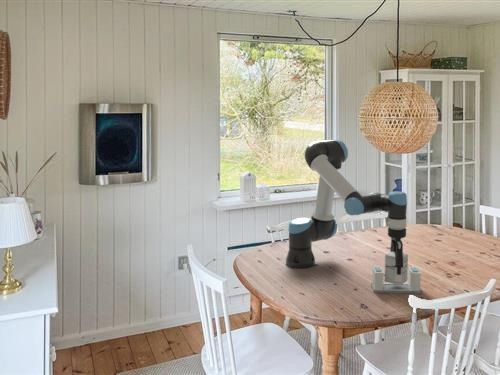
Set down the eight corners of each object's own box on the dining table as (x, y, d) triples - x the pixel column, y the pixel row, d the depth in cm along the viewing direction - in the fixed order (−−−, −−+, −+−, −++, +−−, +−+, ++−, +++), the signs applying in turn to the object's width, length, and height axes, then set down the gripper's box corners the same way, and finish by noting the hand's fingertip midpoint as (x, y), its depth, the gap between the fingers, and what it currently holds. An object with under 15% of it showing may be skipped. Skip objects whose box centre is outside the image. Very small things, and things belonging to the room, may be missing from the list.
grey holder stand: (373, 292, 204) (374, 272, 202) (371, 285, 213) (371, 265, 211) (421, 293, 201) (422, 272, 200) (416, 285, 210) (417, 265, 208)
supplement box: (384, 281, 206) (384, 254, 204) (392, 277, 211) (393, 250, 209) (399, 286, 201) (400, 257, 199) (407, 281, 206) (408, 253, 204)
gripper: (384, 221, 214) (383, 267, 217) (392, 234, 192) (391, 286, 195) (401, 221, 213) (399, 268, 216) (411, 234, 191) (410, 286, 194)
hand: (396, 276), depth 206 cm, fingers closed on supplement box, 10 cm apart
